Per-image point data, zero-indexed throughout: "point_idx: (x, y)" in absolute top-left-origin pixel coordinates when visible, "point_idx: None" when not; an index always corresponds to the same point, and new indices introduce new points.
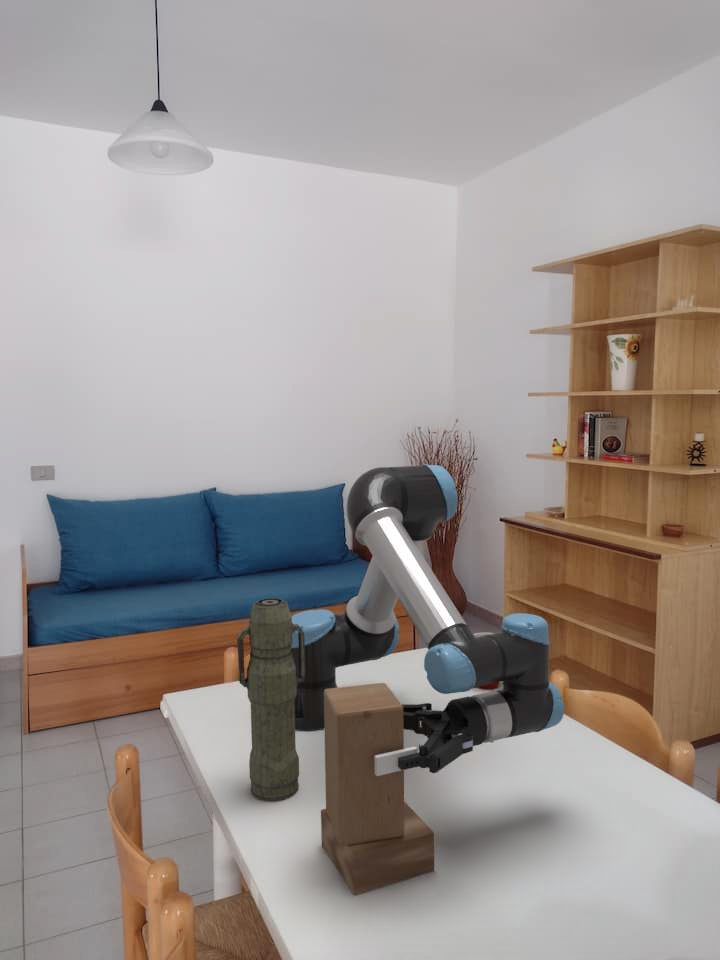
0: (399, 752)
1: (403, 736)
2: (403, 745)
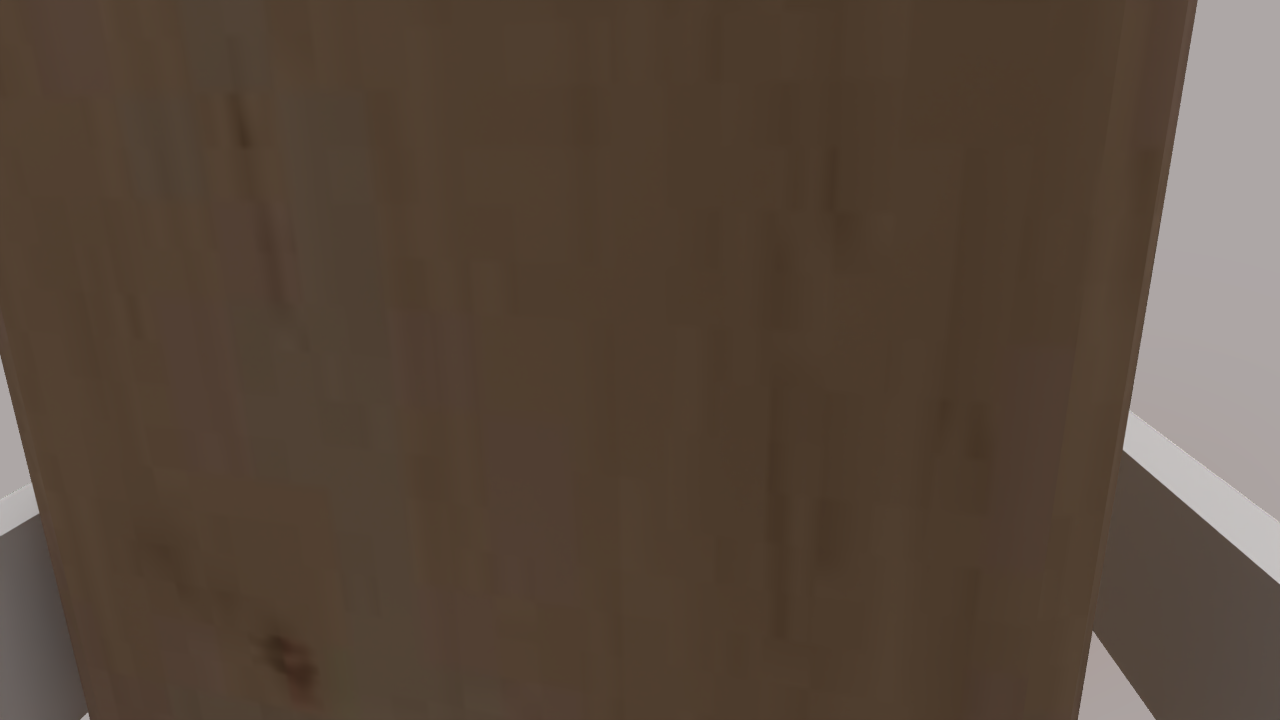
0: (24, 486)
1: (31, 436)
2: (55, 552)
